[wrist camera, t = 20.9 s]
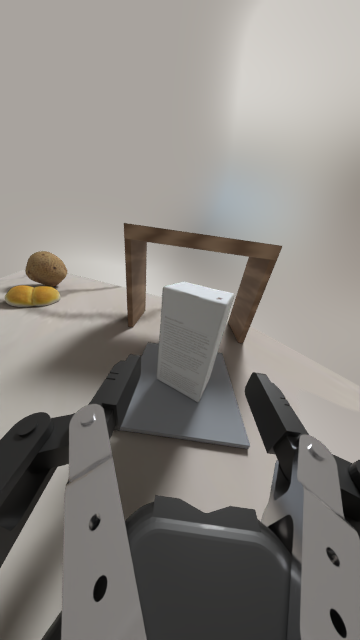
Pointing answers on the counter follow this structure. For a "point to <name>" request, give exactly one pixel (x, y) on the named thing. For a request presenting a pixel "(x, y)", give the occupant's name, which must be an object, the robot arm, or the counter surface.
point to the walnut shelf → (258, 253)
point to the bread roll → (31, 296)
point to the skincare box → (190, 335)
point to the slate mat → (185, 407)
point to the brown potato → (45, 268)
